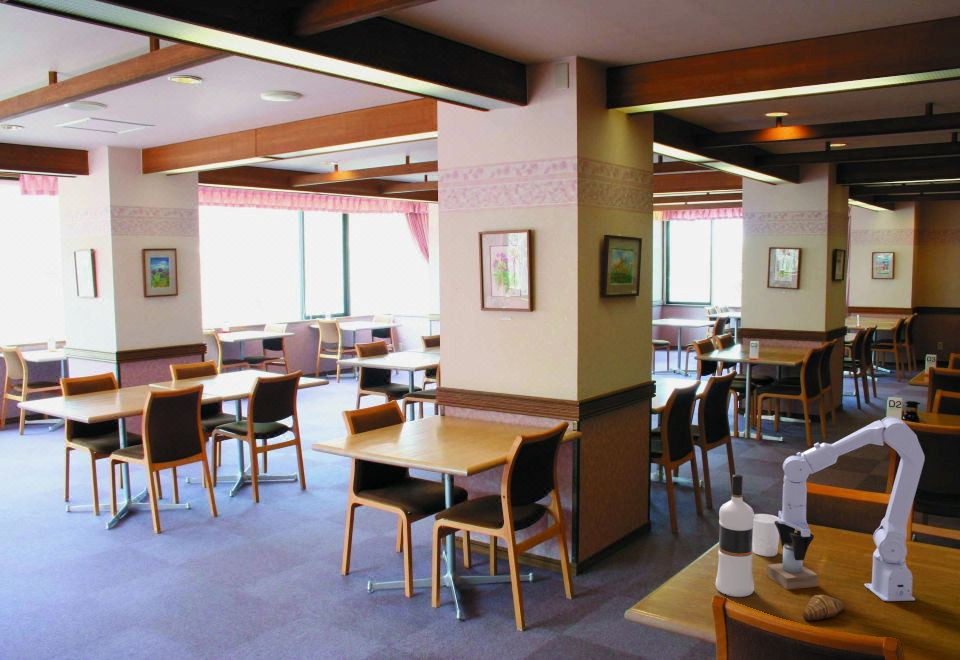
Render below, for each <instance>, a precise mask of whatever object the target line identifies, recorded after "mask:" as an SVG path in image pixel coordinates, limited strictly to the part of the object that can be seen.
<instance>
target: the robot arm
mask: <svg viewBox="0 0 960 660" xmlns="http://www.w3.org/2000/svg"><path fill="white" fill-rule="evenodd" d="M884 442H885V443H886V444H887V445H888V446H889V447H891V448H892V449H893V450H895V451H896V453H897V454H898V456H899V457H900V461H899V464H898V468H897V472H896V475H895V479H894V482H893V486H892V491H891V493H890V496H889V497H890V498H889V500H888V505H887V508H886V510H885V511H886V512H885V516H884V517H883V519H882V520H881V521H880V525H879V527H878V528H876V529H875V531H874V532H873V535H872V539H873V543H874V544H875V546H876V549H875V550H874V552H873V553H872V570H871V571H872V574H871V583H864V587H865V588H867V589H868V590H869V591H871V592H872V593H873V594H874V595H876V596H877V598H880V599H881V600H882V601H884V602H901V601H903V602H904V601H905V602H907V601H915V600H916V598H915V597H914V596H912V595H913V578H914V577H913V573H912V571H911V570H910V569H909V568H908V566H907V564H906V556H907V554H908V548H907V543H906V541H907V534H908V533H907V529H908V528H907V525H908V522H909V518H910V514H911V511H912V507H913V504H914V500H915V499H914V498H915V496H916V492H917V488H918V486H919V482H920V478H921V474H922V470H923V467H924V463H925V460H926V459H925V457H926V456H925V454H924V451H923V449H922V446H921V443H920V442H919V439H918V435H917V434H916V433H915V432H914V430H912V429H911V428H910V427H909V426H908V424H906V423H905V421H904V420H902V418H900V417H898V416H896V415H895V416H893V415H890V416H886V417H884V418H882V419H881V420H880V419H878V420H875V421H873V422H871V423H870V424H867V425H865V426H864V427H861V428H860V429H858V430H856V431H854V432H853V433H850V434H849V435H847V436H845V437H843V438H841V439H839V440H837V441H835V442H834V443H827V442H822V443H819V442H816V443H814V444H813V447H811V448H809V449H806V450H804V451H803V452H800V451H799V452H797V453H796V455H790V456H788V457H787V458H785V460H784V462H783V464H782V465H781V466H782V470H783V473H784V475H783V484H782V510H778V514H777V515H778V516H777V517H778V518H779V519H778V521H775V522H774V523H775V525H776V527H777V529H778V532H779V541H780V545H781V549H782V550H783V546H784V544H786V543H793V549H794V558H795V560H803V561H804V560H805V558H806V554H807V552H808V548H809V546H810V545H811V543H812V541H813V540H814V539H815V538H814V537H815V536H814V535H813V534H812V533H811V528H809V525H808V521H807V496H808V495H807V494H808V493H807V492H808V487H807V480H808V477H809V475H812V474H815V473H817V472H819V471H821V470H823V469H826V468H829V467H830V466H832V465H834V464H836V463H837V461H838V458H839V457H840V456H842V455H844V454H845V455H846V454H847V453H850V452H851V451H854V450H857V449H859V448H861V447H864V446H866V445H869V444H870V445H876V446H881V447H883V446H884ZM795 531H796V532H795Z"/></svg>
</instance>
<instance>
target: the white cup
mask: <svg viewBox="0 0 960 660" xmlns="http://www.w3.org/2000/svg"><path fill="white" fill-rule="evenodd" d="M778 519H779V518H778V516H776V515H773V514H767V513H754V521H753V523H754V526H753V541H752V553H753V554H756V555H758V556H763V557H775V556H776V555H778V547H779V543H780V542H779V541H780V536H779V532H778V529H777V527H776V525H775V523H774V522H775V521H778Z"/></svg>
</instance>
